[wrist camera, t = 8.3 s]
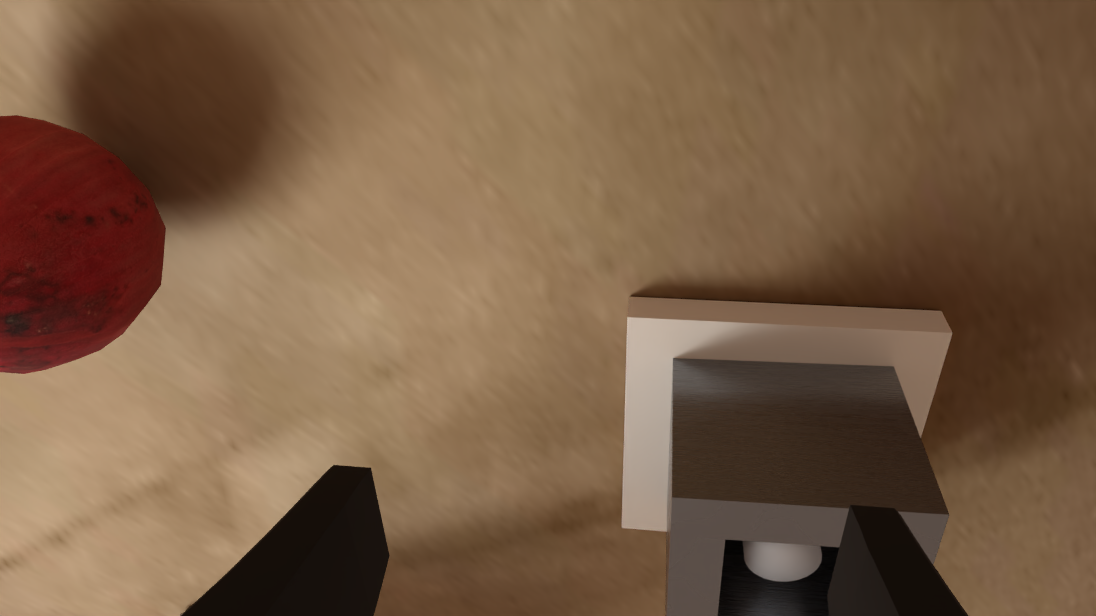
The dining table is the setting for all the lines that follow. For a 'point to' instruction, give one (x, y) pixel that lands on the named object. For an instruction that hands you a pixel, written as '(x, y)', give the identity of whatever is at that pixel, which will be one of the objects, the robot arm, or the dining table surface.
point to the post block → (757, 336)
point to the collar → (783, 476)
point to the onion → (69, 245)
